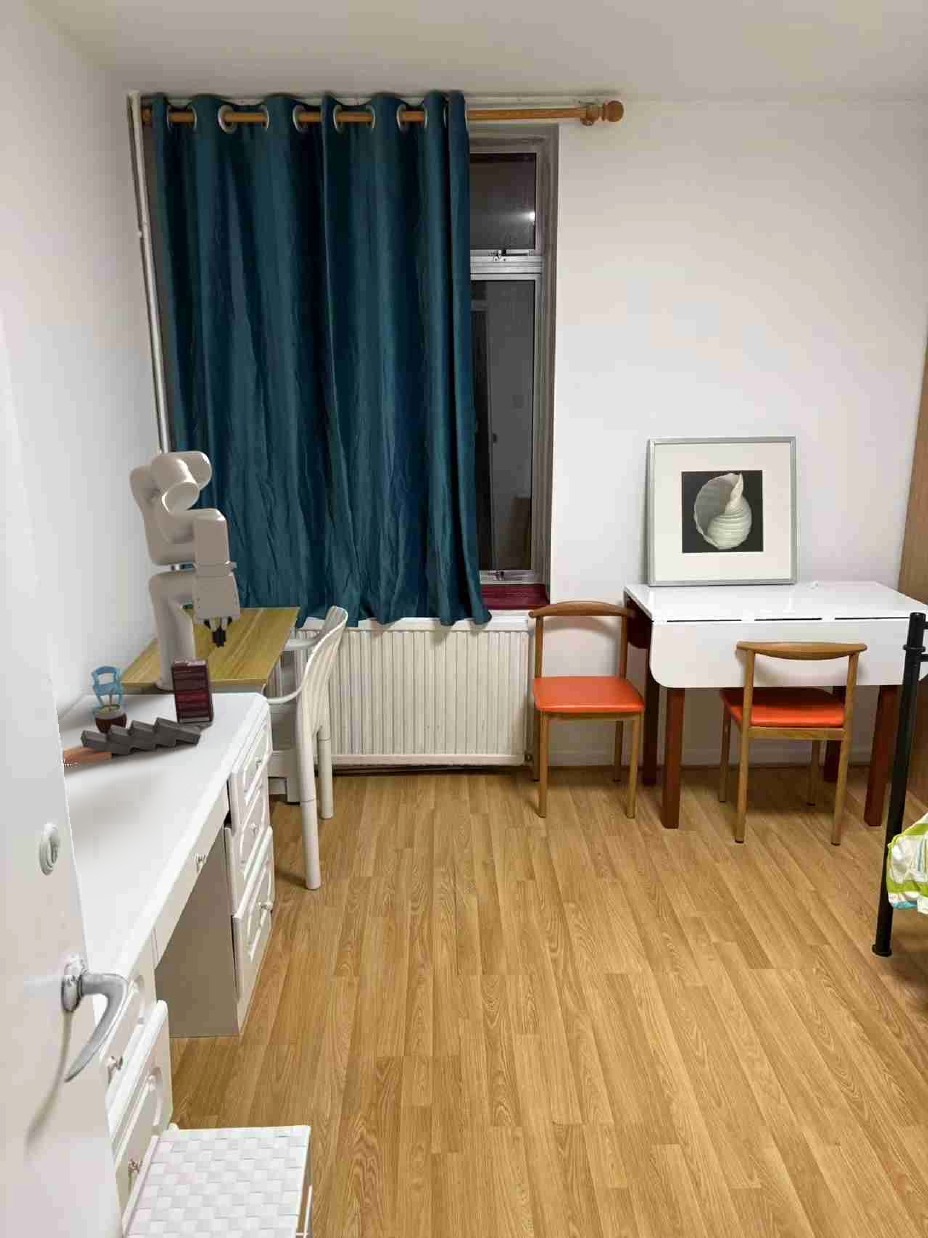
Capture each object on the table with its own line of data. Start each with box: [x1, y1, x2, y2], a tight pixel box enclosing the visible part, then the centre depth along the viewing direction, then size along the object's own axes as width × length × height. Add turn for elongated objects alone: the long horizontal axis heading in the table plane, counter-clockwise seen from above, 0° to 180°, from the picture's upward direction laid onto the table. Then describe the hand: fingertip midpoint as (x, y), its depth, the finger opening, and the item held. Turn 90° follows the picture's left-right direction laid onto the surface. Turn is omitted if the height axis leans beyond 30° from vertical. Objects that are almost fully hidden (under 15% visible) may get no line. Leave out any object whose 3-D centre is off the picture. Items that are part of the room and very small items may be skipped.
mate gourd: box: [94, 687, 128, 734], centre depth 226 cm, size 8×8×15 cm
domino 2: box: [108, 725, 157, 752], centre depth 222 cm, size 5×2×10 cm
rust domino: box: [62, 747, 112, 767], centre depth 219 cm, size 5×2×10 cm
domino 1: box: [79, 729, 132, 756], centre depth 219 cm, size 5×2×10 cm
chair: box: [90, 665, 125, 714], centre depth 243 cm, size 8×8×12 cm
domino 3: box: [128, 719, 177, 748], centre depth 224 cm, size 5×2×10 cm
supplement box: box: [171, 658, 215, 727], centre depth 236 cm, size 9×5×16 cm, turn 98°
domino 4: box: [153, 716, 202, 744], centre depth 226 cm, size 5×2×10 cm
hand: (219, 645), depth 224 cm, fingers closed
